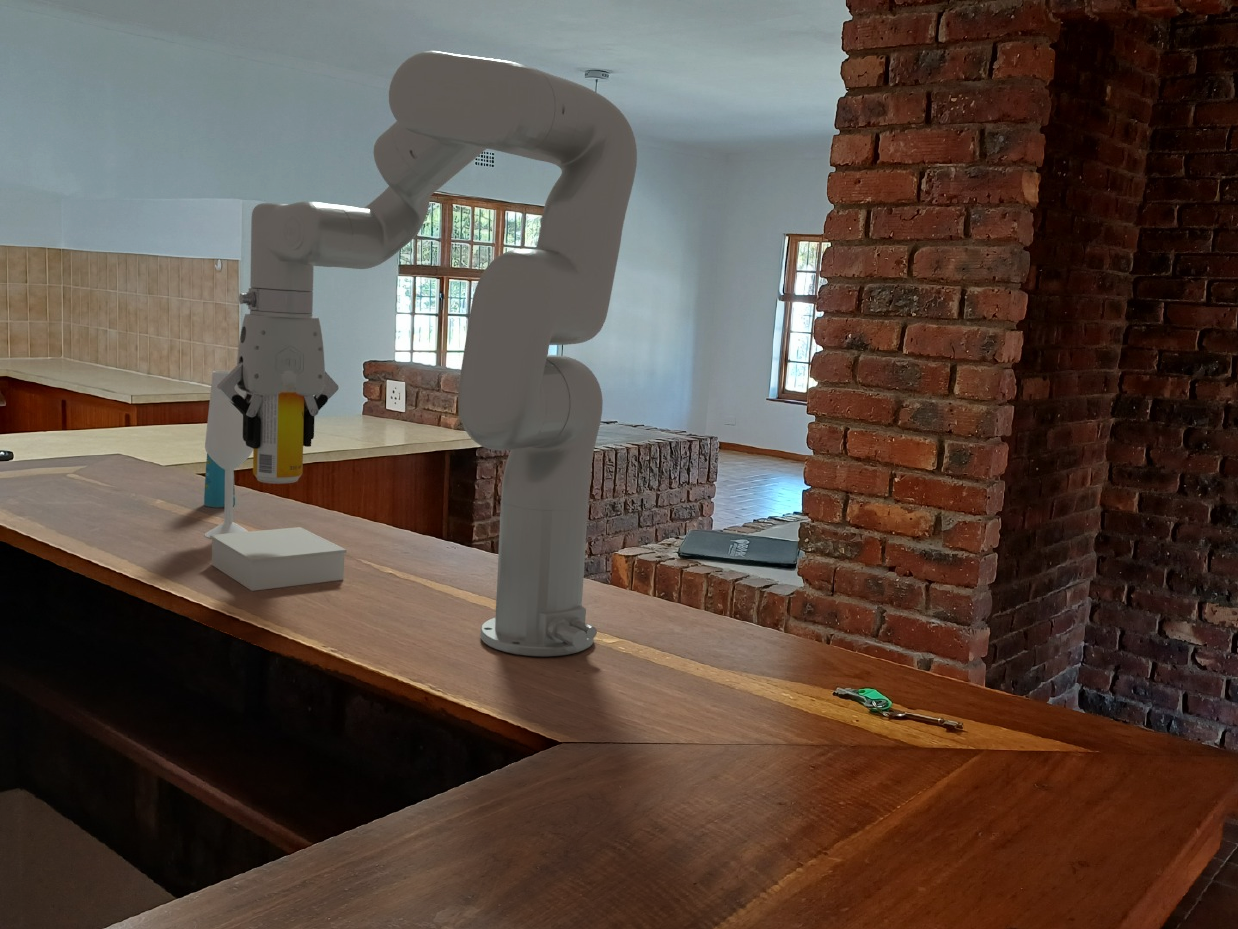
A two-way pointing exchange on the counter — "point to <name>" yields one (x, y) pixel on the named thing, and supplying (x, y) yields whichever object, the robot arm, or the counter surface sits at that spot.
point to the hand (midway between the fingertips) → (278, 444)
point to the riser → (277, 558)
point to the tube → (215, 485)
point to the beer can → (280, 435)
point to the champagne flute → (225, 445)
